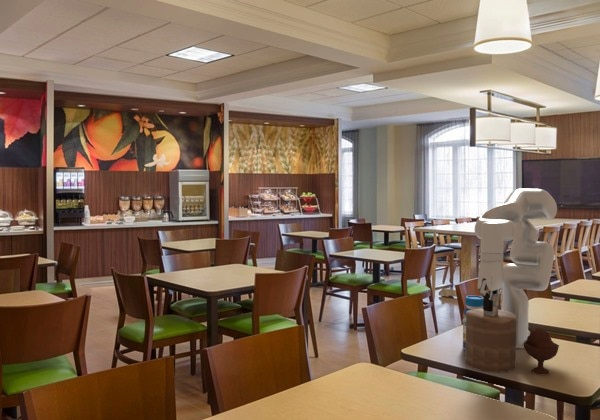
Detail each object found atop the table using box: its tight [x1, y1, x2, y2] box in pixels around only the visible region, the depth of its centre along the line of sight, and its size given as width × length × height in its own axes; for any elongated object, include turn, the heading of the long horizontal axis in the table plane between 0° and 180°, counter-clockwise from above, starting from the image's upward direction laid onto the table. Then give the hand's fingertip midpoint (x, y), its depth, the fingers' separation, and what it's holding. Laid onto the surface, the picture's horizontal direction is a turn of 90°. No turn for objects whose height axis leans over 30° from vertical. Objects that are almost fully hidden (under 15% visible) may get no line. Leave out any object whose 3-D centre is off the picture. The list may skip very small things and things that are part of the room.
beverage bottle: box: [462, 294, 483, 351], centre depth 206 cm, size 8×8×20 cm
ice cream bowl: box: [523, 327, 560, 376], centre depth 182 cm, size 11×11×15 cm
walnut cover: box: [465, 292, 517, 373], centre depth 190 cm, size 17×17×24 cm
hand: (490, 309), depth 189 cm, fingers closed on walnut cover, 3 cm apart
